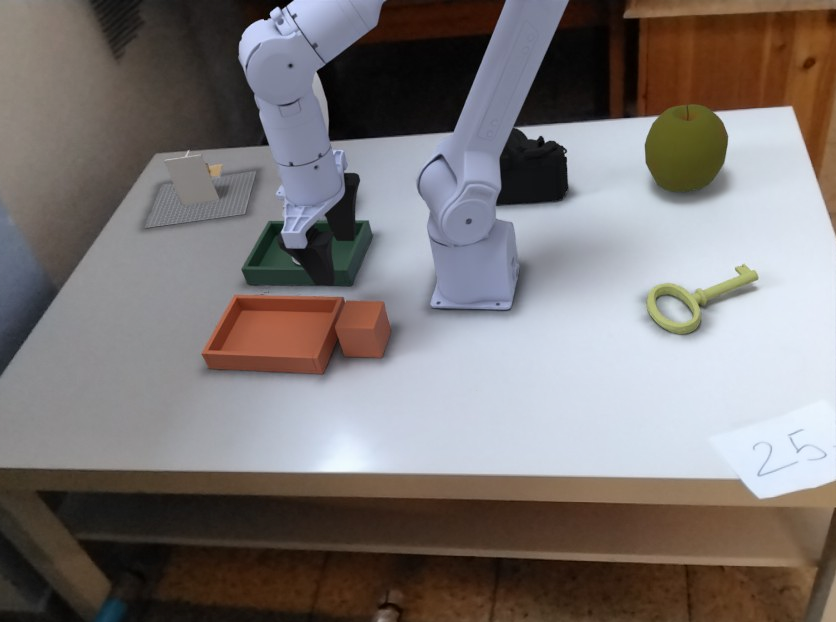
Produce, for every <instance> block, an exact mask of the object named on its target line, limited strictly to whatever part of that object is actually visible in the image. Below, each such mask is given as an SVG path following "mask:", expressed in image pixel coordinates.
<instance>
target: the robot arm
mask: <svg viewBox="0 0 836 622" xmlns="http://www.w3.org/2000/svg"><path fill="white" fill-rule="evenodd" d="M386 1H387V0H292V1H291V2H290V3H288V4H287V5H286V6H284V8H282V9H281V8H280V7H279V6H276V7H275V8H274V9H273V10H271V11H270V13H269V15H270V18H267V20H266V19H265V20H264V18H263V19H259V20H257V21H255V22H253V23H252V24H250V25H249V26H248V27H247V28H245V30H244V31H243V33H242V34H241V40H239V45H238V54H239V55H238V61H239V63H240V65H241V67H242V69H243V71H244V72H243V73H244V75H245V79H246V82H247V84H248V86H249V87H250V89H251V91H252V92H253V93H254V95H253V97H254V101H255V104H256V107H257V108H258V110H259V113H258V115H259V118H260V122H261V126H262V128H263V131H264V134H265V137H266V140H267V143H268V145H269V149H270V152H271V154H272V157H273V160H274V164H275V166H276V169H277V172H278V175H279V178H280V181H281V185H280V186H279V188H278V189H277V191H276V192H275V196H276V199H277V200H278V201H284V205H285V218H284V220H283V221H284V227H283V228H282V230H281V232H280V233H279V235H278V237H277V242H278V245H279V247H280V249H282V250H283V251H285V252H287V253H288V254H289V255H291V256H292V257H293V258H294V259H295V260H296V261H297V262H298V263H299V264H300V265H301V266H302V267H303V268H304V270H305V271H306V272H307V274H308V275H309V276H310V278H311V279H312V281H313V282H314V283H315V285H314V286H319V287H334V286H333V285H334V283H335V271H334V266H333V260H332V240H333V236H334V237H335V239H336V240H337V241H354V239H355V235H356V222H355V220H356V207H357V205H356V204H357V195H358V190H359V186H360V183H361V177H360V175H359V173H356V172H345V171H346V170H347V168H348V166H349V164H348V159H347V157H346V153H345V150H344V149H333V146H332V143H331V140H330V136H329V132H328V133H327V129H326V126H325V122H324V118H323V115H322V111H321V108H320V104H319V101H318V99H317V97H316V96H315V95H314V92H313V89H312V83H313V79H314V75H315V73H316V72H317V71H318V70H320V69H321V68H323V67H324V66H326V65H327V64H328V63H329V62H331V61H332V60H333V59H335V58H336V57H337V56H339V55H340V54H341V53H343V52H344V51H345V50H347V49H348V48H349V47H351V45H353V44H354V43H356V42H357V41H358V40H360V39H361V38H362V37H363V36H365V35H366V34H367V33H369V32H370V31H371V30H373V29H374V28H375V27H377V26H378V23H379V19H380V14H381V10H382V6H383V4H384V3H385V2H386ZM569 1H570V0H505V2H504V4H503V7H502V10H501V13H500V15H499V18H498V20H497V22H496V25H495V28H494V30H493V33H492V35H491V38H490V40H489V43H488V44H487V48H486V50H485V53H484V55H483V57H482V60H481V63H480V65H479V68H478V70H477V72H476V75H475V78H474V80H473V83H472V85H471V87H470V90H469V92H468V94H467V98H466V100H465V102H464V106H463V108H462V110H461V113H460V115H459V118H458V120H457V123H456V125H455V128H454V129H453V130H454V131H453V133H451V134H450V135H448V136H446V137H444V138H443V139H440V140H439V141H438V144H437V146H436V148H435V151H434V152H433V154H432V155H431V157H430V158H429V159H428V160H426V161H425V162H424V163H423V165H422V166H421V167H420V169H419V171H418V173H417V176H416V189H417V192H418V195H419V196H420V197H421V199H422V200H423V201H424V203H425V204H426V207H427V208H428V211H429V216H428V219H427V224H426V230H427V235H428V240H429V245H430V249H431V254H432V259H433V265H434V269H435V275H436V280H437V281H436V283H435V288H434V291H433V293H432V296H431V299H430V303H429V305H430V307H431V309H432V308H433V309H458V310H459V309H463V310H464V309H465V310H503V311H505V310H510V309H511V308H512V305H513V301H514V295H515V291H516V287H517V282H518V279H519V273H520V269H521V266H520V265H521V264H520V263H519V258H518V249H517V248H518V247H517V238H516V232H515V231H516V230H515V225H514V223H513V222H512V221H510V220H509V221H508V220H502V219H498V218H497V208H496V206H497V205H496V200H497V197H498V195H499V192H500V190H501V177H500V163H499V158H500V155H501V153H502V151H503V148H504V146H505V144H506V142H507V139H508V137H509V135H510V133H511V130H512V128H514V125H515V123H516V121H517V119H518V117H519V115H520V112H521V111H522V107H523V106H524V103H525V101H526V98H527V97H528V94H529V92H530V89H531V87H532V85H533V83H534V80H535V78H536V76H537V73H538V71H539V69H540V67H541V65H542V62H543V60H544V57H545V55H546V53H547V51H548V48H549V47H550V44H551V42H552V40H553V37H554V35H555V32H556V31H557V29H558V26H559V24H560V21H561V20H562V17H563V15H564V12H565V11H566V8H567V6H568V3H569ZM323 216H324V217H325V219H326V220H327V222H328V224H329V226H330V229H331V231H332V232H319V231H318V228H316V229H315V228H314V225H313V224H314V223H316V222H317V221H320V219H321V218H322V217H323Z"/></svg>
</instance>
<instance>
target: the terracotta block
mask: <svg viewBox="0 0 836 622" xmlns="http://www.w3.org/2000/svg"><path fill="white" fill-rule="evenodd" d="M335 329H336V332H337V335H338V341H339V344H340V347H341V350H342V353H343V357H349V358H377V359H382V358H383V356H384V353H385V351H386V348H387V345H388V342H389V339H390V336H391V333H392V326H391V324H390V319H389V316H388V311H387V308H386V305H385V300H349V299H347V300H345V305H344V307H343V309H342V312H341V314H340V316H339V319H338V321H337V324H336V326H335Z"/></svg>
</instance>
